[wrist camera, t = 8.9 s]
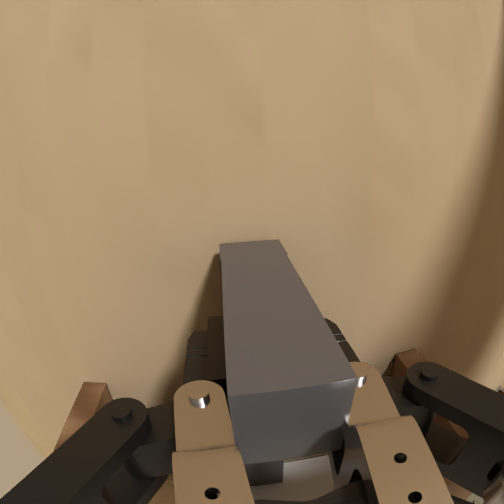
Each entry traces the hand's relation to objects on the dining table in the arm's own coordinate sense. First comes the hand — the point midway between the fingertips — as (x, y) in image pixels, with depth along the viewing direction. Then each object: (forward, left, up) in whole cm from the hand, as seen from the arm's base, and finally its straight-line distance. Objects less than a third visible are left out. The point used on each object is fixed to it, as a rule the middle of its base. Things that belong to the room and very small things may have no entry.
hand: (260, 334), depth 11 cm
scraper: (0, +7, -3) cm, 7 cm away
